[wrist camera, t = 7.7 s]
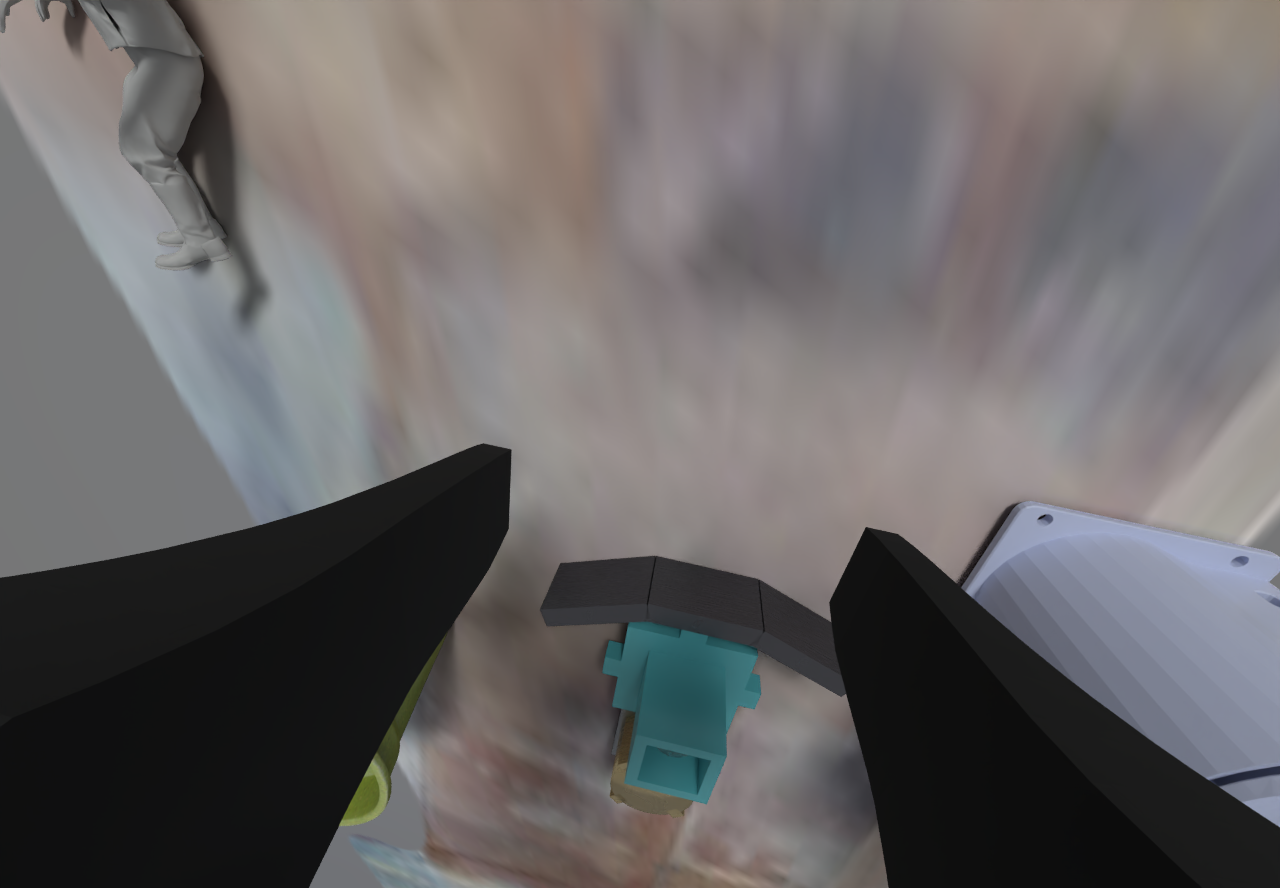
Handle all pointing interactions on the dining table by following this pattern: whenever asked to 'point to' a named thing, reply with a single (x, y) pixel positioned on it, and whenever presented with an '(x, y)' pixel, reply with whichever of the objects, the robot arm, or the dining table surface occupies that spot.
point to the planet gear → (679, 704)
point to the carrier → (692, 606)
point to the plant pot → (385, 759)
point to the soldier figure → (156, 114)
